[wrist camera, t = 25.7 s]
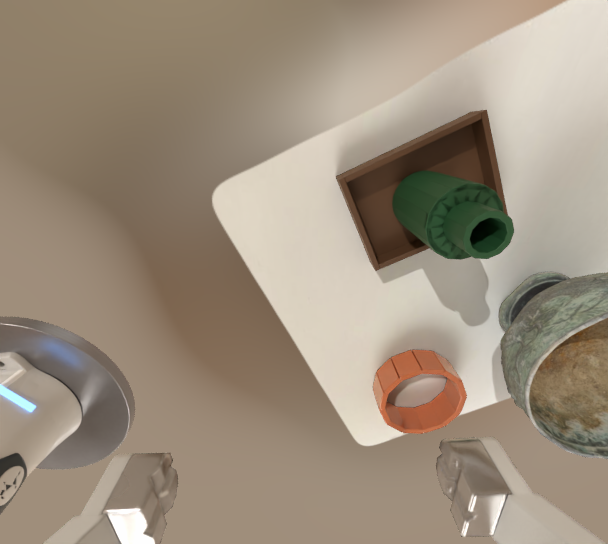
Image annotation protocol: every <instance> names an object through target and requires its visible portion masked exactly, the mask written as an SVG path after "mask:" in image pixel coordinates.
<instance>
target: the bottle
mask: <svg viewBox="0 0 608 544" xmlns="http://www.w3.org/2000/svg"><path fill="white" fill-rule="evenodd" d="M392 207H393V212H394V214H395V216H396V218H397V219H398V220H399V222H400V223H401V224H402V225H403V226H405V227H406V228H407V229H408V230H409V231H410V232H412V233H413V234H414V235H415V236H416V237H418V238H419V239H420V240H421V241H422V242H424V243H425V244H426V245H427V246H428V247H430V248H431V249H432V250H433V251H434V252H436V253H437V254H439V255H441V256H443V257H445V258H448V259H465V258H468V257H471V256H472V257H474V258H481V259H488V258H491V257H493V256H495V255H498V254H500V253H501V252H502V251H503V250H504V249H505V248H506V247H507V246H508V245H509V243H510V242H511V239H512V236H513V233H514V228H513V223H512V219H511V218H510V217H509V216H507V215H506V214H505V213H504V210H503V203H502V201H501V199H500V198H499V196H498V194H497V193H496V192H495V191H494V190H492V189H491V188H489V187H487V186H486V185H484V184H480V183H476V182H473V181H469V180H465V179H461V178H457V177H454V176H450V175H446V174H442V173H438V172H434V171H418V172H415V173H412V174H410V175H409V176H407V177H406V178H405V179H404V180H402V181H401V183H400V184H399V185H398V187H397V188H396V190H395V193H394V196H393V201H392Z"/></svg>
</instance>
